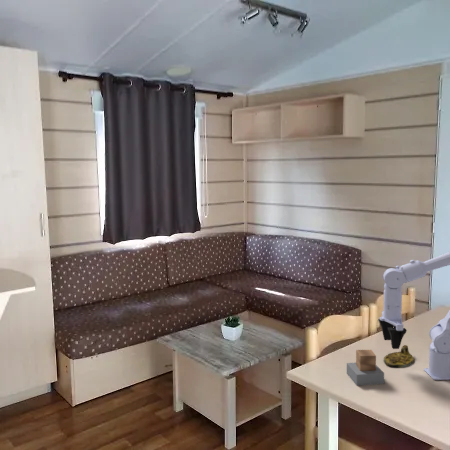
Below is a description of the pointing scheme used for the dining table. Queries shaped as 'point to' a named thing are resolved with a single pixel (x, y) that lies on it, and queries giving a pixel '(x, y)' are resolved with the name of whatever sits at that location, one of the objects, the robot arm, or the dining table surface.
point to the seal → (399, 358)
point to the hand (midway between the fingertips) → (391, 344)
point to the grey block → (365, 375)
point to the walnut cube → (366, 360)
